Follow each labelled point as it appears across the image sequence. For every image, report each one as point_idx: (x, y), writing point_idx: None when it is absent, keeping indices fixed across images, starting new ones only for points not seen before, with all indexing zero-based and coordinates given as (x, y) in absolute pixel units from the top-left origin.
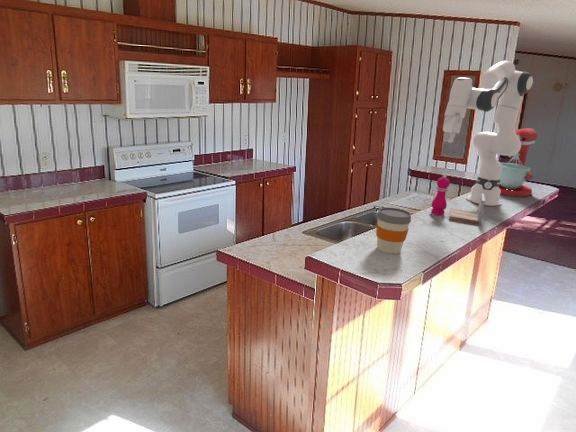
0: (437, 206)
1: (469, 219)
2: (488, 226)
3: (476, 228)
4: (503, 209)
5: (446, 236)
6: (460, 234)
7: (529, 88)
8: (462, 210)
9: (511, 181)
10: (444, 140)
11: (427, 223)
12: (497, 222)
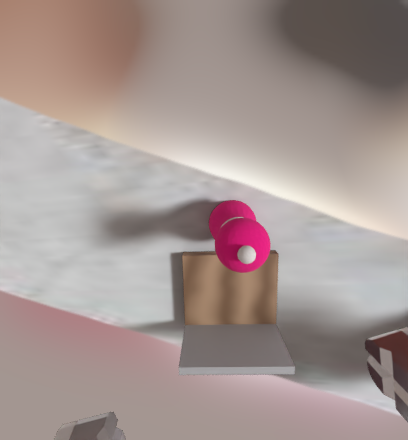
0: (209, 220)
1: (184, 305)
2: None
3: (153, 317)
4: None
5: (32, 254)
6: (73, 284)
7: None
8: (272, 286)
9: None
10: (383, 339)
11: (108, 202)
12: None
